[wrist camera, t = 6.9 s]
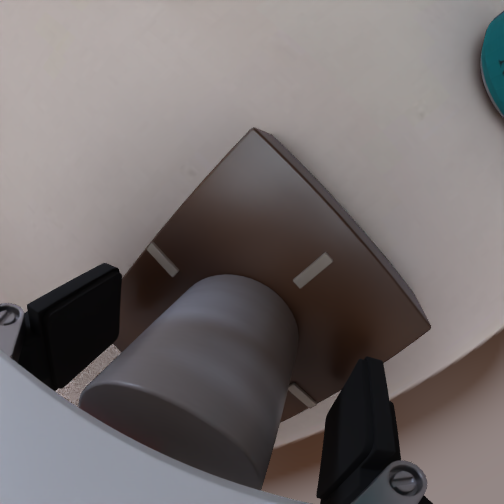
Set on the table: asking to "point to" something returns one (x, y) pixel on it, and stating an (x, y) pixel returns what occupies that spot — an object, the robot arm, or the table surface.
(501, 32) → the beverage can
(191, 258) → the panel
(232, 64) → the table surface
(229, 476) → the knob
